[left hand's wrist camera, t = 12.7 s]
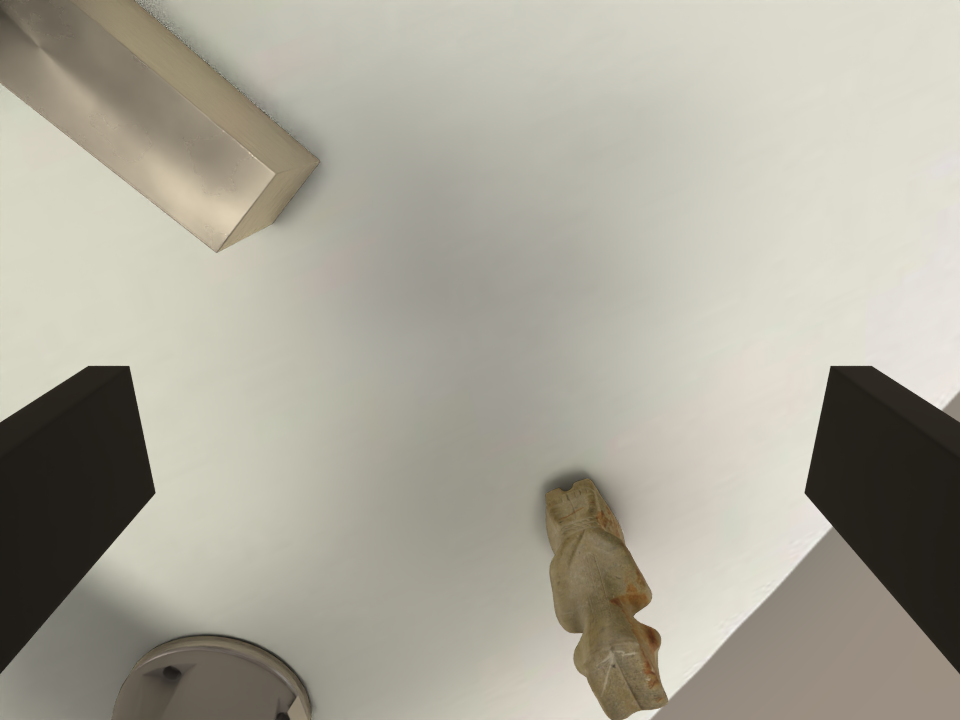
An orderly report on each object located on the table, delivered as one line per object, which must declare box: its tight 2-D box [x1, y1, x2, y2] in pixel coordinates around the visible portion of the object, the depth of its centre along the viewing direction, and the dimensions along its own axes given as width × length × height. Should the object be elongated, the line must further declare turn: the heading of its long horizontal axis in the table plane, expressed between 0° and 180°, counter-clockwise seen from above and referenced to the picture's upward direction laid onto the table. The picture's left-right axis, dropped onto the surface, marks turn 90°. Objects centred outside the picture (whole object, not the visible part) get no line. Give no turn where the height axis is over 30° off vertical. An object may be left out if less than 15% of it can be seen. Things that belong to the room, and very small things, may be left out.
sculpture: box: [545, 479, 668, 720], centre depth 40 cm, size 6×7×15 cm
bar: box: [0, 0, 320, 253], centre depth 32 cm, size 22×5×9 cm, turn 48°
